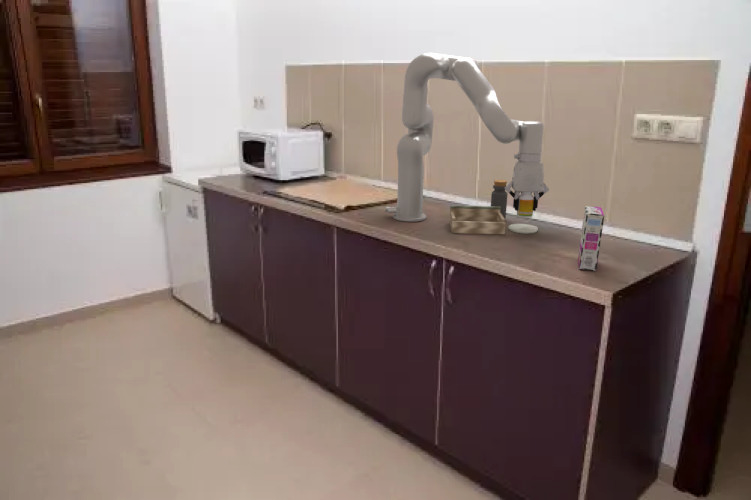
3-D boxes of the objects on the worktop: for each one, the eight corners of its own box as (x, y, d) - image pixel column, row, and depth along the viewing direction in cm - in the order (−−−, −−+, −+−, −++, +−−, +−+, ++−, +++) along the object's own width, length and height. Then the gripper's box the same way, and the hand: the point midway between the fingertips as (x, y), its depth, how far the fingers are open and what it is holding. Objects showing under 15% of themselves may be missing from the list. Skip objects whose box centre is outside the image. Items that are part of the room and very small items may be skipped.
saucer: (511, 233, 202) (511, 230, 201) (506, 226, 211) (506, 223, 211) (540, 234, 201) (540, 231, 201) (534, 226, 211) (534, 224, 210)
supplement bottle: (535, 217, 203) (537, 190, 200) (521, 218, 201) (523, 190, 199) (527, 214, 208) (529, 187, 205) (513, 215, 206) (515, 188, 204)
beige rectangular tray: (452, 232, 201) (453, 213, 199) (449, 223, 213) (450, 205, 212) (504, 234, 200) (506, 215, 198) (498, 224, 213) (500, 206, 211)
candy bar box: (597, 272, 163) (605, 215, 158) (578, 270, 164) (585, 213, 160) (595, 260, 173) (602, 206, 169) (577, 258, 175) (584, 205, 170)
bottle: (505, 222, 216) (508, 182, 212) (489, 221, 217) (492, 181, 213) (505, 219, 222) (508, 179, 217) (489, 218, 223) (492, 179, 218)
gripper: (505, 159, 196) (502, 212, 201) (557, 160, 195) (552, 213, 200) (502, 156, 203) (498, 207, 208) (552, 157, 202) (547, 208, 207)
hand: (524, 209), depth 204 cm, fingers closed on supplement bottle, 5 cm apart
